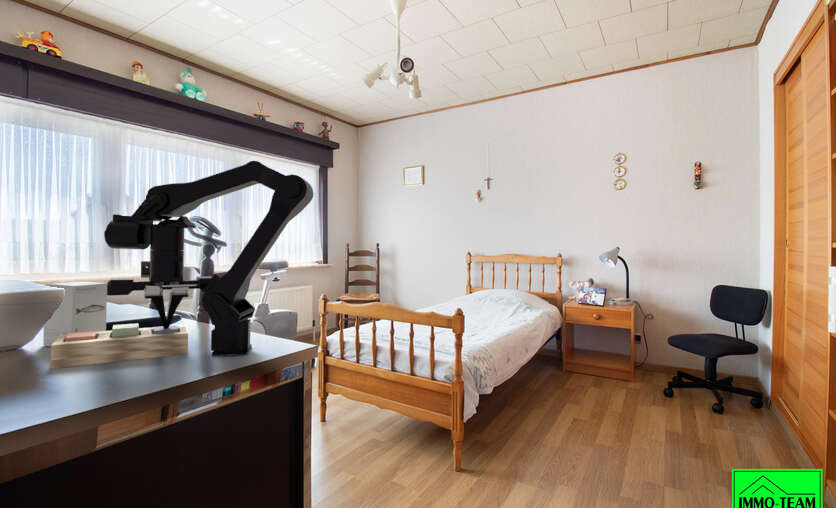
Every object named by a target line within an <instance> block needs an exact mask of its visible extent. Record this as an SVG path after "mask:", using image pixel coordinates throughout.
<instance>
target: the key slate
mask: <svg viewBox="0 0 836 508" xmlns="http://www.w3.org/2000/svg"><path fill="white" fill-rule="evenodd" d="M152 327H153V334H161V333H173V332H178V327H177V325H170V326H169V328H165V329H164V328H163V325H162V326H152Z"/></svg>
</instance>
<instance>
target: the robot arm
mask: <svg viewBox="0 0 836 508" xmlns="http://www.w3.org/2000/svg"><path fill="white" fill-rule="evenodd" d="M259 184H260V185H262V186H264V187H266V188H268V189H270V190H273V191H274V192H273V194H272V197H271V200H270V201H271V202H270V205H269V210H268V212H267V213H266V214H265V216H264V218H263V220H262V221H261V222H260V224H259V226H257V229H255V231H254V233H253V234H252V236H251V237H250V238H249V240H248V242H247V243H246V245H245V246H244V248H243V249H242V250H241V252H240V254H239V255H238V257H237V258H236V260H235V261H234V262H233V264H232V266H231V268H229V269H228V271H223V272H217V273H213V275H212V276H210V275H209V276H208V275H207V276H202V275H201V276H196V278H195V279H185V280H184V265H185V263H184V259H185V229H196V228H197V226H196V224H194V223H193V222H192V221H191V220H190V219H189V217H188V216H185V215H186V214H189V213H191V212H192V211H194V210H197V208H199V207H200V206H201V205H202V204H204V203H205V202H208V201H210V200H211V201H212V200H213V199H216V198H219V197H222V196H225V195H228V194H231V193H234V192H237V191H240V190H243V189H246V188H249V187H251V186H253V187H254V186H255V185H259ZM313 198H314V190H313V187H312V185H311V183H310V182H308V181H307V180H305V179H304V178H303V177H301V176H300V175H298V174H288V175H285V174H283V173H281V172H279V171H278V170H275V169H273V168H271V167H268V166H267V165H266V164H264V163H262V162H260V161H259V160H251V161H248V162H246V163H245V164H242V165H239V166H237V167H236V166H235V167H234V168H229V169H228V170H224V171H221V172H218V173H215V174H212V175H209V176H206V177H202V178H200V179H196V180H194V181H189V182H177V183H176V182H175V183H166V184H161V185H155V186H152V187H150V188H149V189H148V190H147V192H146V195H145V199H144V200H143V201H142V202H141V203H140V205H139V206H138V208H137V209H136V210H135V211H134V212H133V214H132V215H127V214H117V213H116V214H112V220H110V221H109V223H108V224H107V226H106V227H105V230H104V241H105V243H106V245H107V246H108V248H111V249H113V250H118V249H120V250H146V249H148V248H149V247H150V248H149V249H150V251H149V260H147V261H146V260H145V261H144V260H143V261H140V278H141V279H143V278H144V279H148V280H147V281H146V280H144V281H143V280H140V281H138V280H136V281H135V280H134V277H112V278H111V279H109V280H108V281H107V282H106V283H107V296H109V297H110V296H128V295H130V294H131V293H132V292H134V291H137V292H139V291H143V292H144V299H146V300H147V299H148V300H151V301H152V303H153V305H154V307H155V308H156V311H157V313H158V316H159V318H160V321H161V324H162V326H163V328H164V329H165V328H169V326H171V323H172V321H173V318H174V315H175V313H176V310H177V309H178V307H179V306H180V303H181V301H182V300H183V298H189V295H190V294H189V293H188V291H189V290H193V289H196V290H198V289H199V290H201V292H202V293H203V295H202V297H201V300H200V301H201V303H202V308H203V310H204V311H205V312H206V313H207V314H208V316H209V319H210V322H211V325H212V326H214V327H213V329H212V330H211V331H210V333H211V334H210V335H211V336H210V351H212V352H211V356H213V357H214V356H238V355H239V356H241V355H242V356H243V355H248V354H249V352H250V350H251V349H252V347H253V345H252V344H251V327H252V326H251V322H252V321H251V319H253V316H254V313H255V311H256V308H255V306H253V304H251V303H250V302H249V301H248V300H247V299H246V296H247V294H248V293H249V289H250V285H251V280H252V278H253V276H254V275H255V273H256V272H257V270H258V268H259V267H260V265H261V264H262V262H263V261H264V259H265V258H266V257H267V255H268V254H269V252H270V250H271V249H272V248H273V246H274V245H275V243H276V241H277V240H278V239H279V237H280V236H281V234H282V232H283V231H284V229H285V228H286V227H287V225H288V224H289V222H291V221H292V220H293V219H294V218H295V217H297V216H298V215H299V214H301V213H302V212H303V210H304V209H305V208H307V206H308V205H309V204H310V203H311V201H312V200H313ZM172 218H177V219H172ZM154 222H157V223H158V224H156V223H154ZM163 290H164V291H165V290H166V291H167V290H169V291H170V290H171V291H170V292H169V298H168V305H167V311H166V310H165V301H164V295H163V293H162V292H163Z"/></svg>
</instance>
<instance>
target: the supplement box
mask: <svg viewBox="0 0 836 508" xmlns="http://www.w3.org/2000/svg"><path fill="white" fill-rule="evenodd" d="M107 283H108V282H97V281H94V282H93V281H72V282H71V281H70V282H58V283H55V282H54V283H46V284H44V286H45V285H46V286H50V287H57V288H64V289H65V296H64V299H63V301H62V303H61V305H60V307H59V308H58V309H57V310H56V311H55V313H54V314H53V315H52V317H51V319H49V320H48V321H47V323H46V324H45V326H44V325H43V338H42V341H43V343H42V345H43V346H45V347H51V345H52V344H53V343H54V341H55V340H56V339H57V337H58V336H59V335H60V334H69V333H80V332H93V331H97V332H98V331H107V303H108V297H107V296H108V295H107Z"/></svg>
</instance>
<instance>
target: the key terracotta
mask: <svg viewBox="0 0 836 508" xmlns="http://www.w3.org/2000/svg"><path fill="white" fill-rule="evenodd" d="M90 339H97V331H93V332H80V333H69V334H68V335H67V337H66V341H78V340H90Z"/></svg>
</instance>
